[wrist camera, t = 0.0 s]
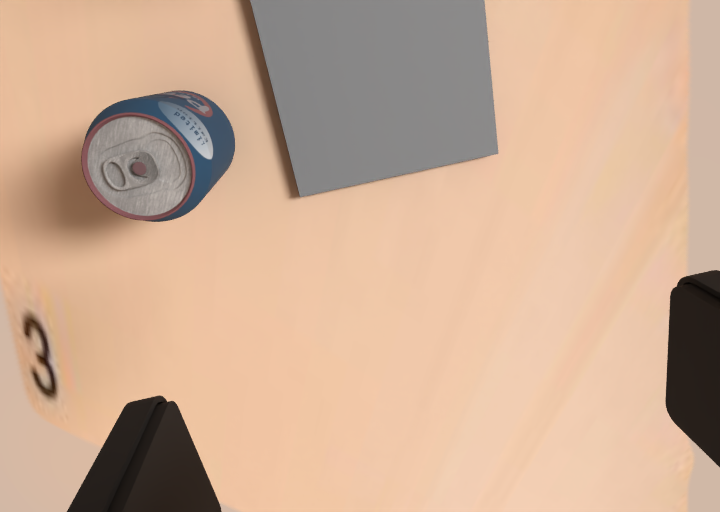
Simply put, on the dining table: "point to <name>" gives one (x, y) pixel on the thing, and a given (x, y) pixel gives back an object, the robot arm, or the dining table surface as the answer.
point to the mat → (378, 86)
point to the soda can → (157, 154)
